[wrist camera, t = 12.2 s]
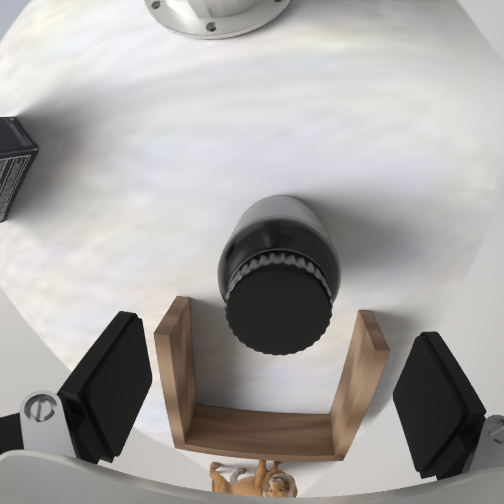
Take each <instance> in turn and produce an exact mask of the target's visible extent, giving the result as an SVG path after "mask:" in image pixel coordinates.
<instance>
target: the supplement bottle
mask: <svg viewBox="0 0 504 504" xmlns="http://www.w3.org/2000/svg"><path fill="white" fill-rule="evenodd" d="M340 283H341V267H340V262H339V258H338V255H337V252H336V250H335V248H334V246H333V244H332V242H331V240H330V238H329V236H328V235H327V233H326V231H325V229H324V227H323V225H322V223H321V222H320V220H319V218H318V217H317V215H316V214H315V212H314V211H313V210H312V209H311V208H310V207H309V206H308V205H306V204H305V203H303V202H302V201H300V200H298V199H295V198H292V197H288V196H272V197H267V198H264V199H262V200H260V201H258V202H256V203H255V204H253V205H252V206H251V207H250V208H249V209H247V211H246V212H245V213H244V214H243V216H242V217H241V219H240V220H239V222H238V224H237V226H236V228H235V229H234V231H233V233H232V235H231V237H230V238H229V240H228V242H227V244H226V246H225V248H224V250H223V252H222V255H221V257H220V261H219V265H218V285H219V289H220V293H221V295H222V298H223V300H224V302H225V303H226V305H225V311H226V319H227V320H228V322H229V327H230V328H231V329H232V330H233V334H234V335H235V336H237V337H238V339H239V341H240V342H242V343H244V344H245V345H246V346H247V347H249V348H252V349H254V350H255V351H257V352H262V353H264V354H272V355H287V354H295V353H296V352H298V351H303V350H305V349H306V348H307V347H310V346H312V345H313V344H314V342H316V341H318V340H319V339H320V337H321V335H323V334H324V333H325V331H326V328H327V327H328V326H329V325H330V318H331V317H332V311H331V310H332V307H333V303H334V301H335V299H336V297H337V294H338V291H339V288H340Z"/></svg>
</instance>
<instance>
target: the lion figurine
mask: <svg viewBox="0 0 504 504" xmlns="http://www.w3.org/2000/svg"><path fill="white" fill-rule="evenodd" d="M281 463H282V461H274V460H273V463H272V465H271V471H267V469H266V460H259V465H258V469H257V472H256V474H255V476H250V477H246V478H243V479H241V480H239V481H237V478H238V476H239V475H240V474H244V473H245V472H246V470H245V469H238V470H236V472H235V473H234V474H233V475H231V476H230V483H229V482H228V481H227V480H226V479H225V478H224V477H223V476H221V475H220V474H218V473H216V471H215V469H217V468H219V464H218V463H212V464H211V466H210V477H211V478H212V492H218V493H226V494H235V495H246V496H260V497H285V498H296V496H297V492H298V491H297V488H296V485H295V481H294V478H293V477H292V476H291V475H289V474H286V473H284V472H283V471H282V470H279V469H278V464H281Z"/></svg>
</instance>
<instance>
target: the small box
mask: <svg viewBox="0 0 504 504" xmlns="http://www.w3.org/2000/svg"><path fill="white" fill-rule="evenodd" d="M37 152H38V147H37V146H36V144H35V143H34V142H33V141H32V139H30V137H29V136H28V135H27V133H26V132H25V131H24V129H23V128H22V127H21V125H20V123H19V122H18V121H17V120H16V119H15V117H0V223H1V222H4V221H5V220H6V217H7V215H8V212H9V210H10V207H11V205H12V203H13V201H14V198H15V196H16V194H17V192H18V190H19V187H20V185H21V183H22V181H23V179H24V177H25V175H26V173H27V171H28V169H29V167H30V165H31V163H32V161H33V159H34V158H35V156H36V154H37Z"/></svg>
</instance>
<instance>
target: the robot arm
mask: <svg viewBox="0 0 504 504" xmlns="http://www.w3.org/2000/svg"><path fill="white" fill-rule="evenodd" d="M144 1H145V5H146V7H147V9H148V11H149V13H150V14H151V15H152V16H153V17H154V18H155V20H156V21H157V22H159V23H160V24H161V25H162V26H163V27H165V28H166V29H168V30H170V31H172V32H174V33H176V34H179V35H182V36H185V37H190V38H197V39H221V38H228V37H234V36H237V35H241V34H244V33H248V32H250V31H252V30H255V29H257V28H259V27H262V26H263V25H265V24H266V23H268V22H270V21H271V20H273V19H274V18H275V17H277V16H278V15H279V14H280V13H281V12H282V11H283V10H284V9H285V8H286V7H287V5H288V4H289V3H290V1H291V0H144ZM275 1H280V2H275ZM213 28H216V30H215V31H212V32H211V30H212V29H213ZM151 384H152V372H151V367H150V362H149V356H148V351H147V346H146V340H145V334H144V328H143V322H142V319H141V318H138V316H137V314H136V313H131V312H124V311H120V312H119V313H118V314H117V315H116V316H115V317H114V319H113V320H112V321H111V322H110V324H109V325H108V326H107V328H106V329H105V330H104V331H103V333H102V334H101V335H100V336H99V338H98V339H97V340H96V342H95V343H94V344H93V346H92V347H91V348H90V349H89V350H88V352H87V353H86V354H85V356H84V357H83V358H82V360H81V361H80V362H79V364H78V365H77V366H76V368H75V369H74V370H73V372H72V373H71V375H70V376H69V377H68V379H67V380H66V381H65V383H64V384H63V386H62V387H61V388H60V390H59V391H58V393H57V394H55V393H52V392H51V391H45V390H43V391H36V392H33V393H31V394H30V395H28V396H27V397H26V398H25V399H24V400H23V401H22V403H21V406H20V413H16V414H12V415H9V416H5V417H1V418H0V504H504V416H501V415H492V416H490V417H488V418H487V419H486V418H485V417H484V415H485V413H486V409H485V408H484V406H483V404H482V402H481V400H480V399H479V397H478V395H477V394H476V392H475V390H474V388H473V387H472V385H471V383H470V382H469V380H468V378H467V377H466V375H465V373H464V372H463V370H462V369H461V367H460V365H459V364H458V362H457V361H456V359H455V357H454V356H453V355H452V353H451V351H450V350H449V348H448V347H447V345H446V344H445V342H444V341H443V339H442V338H441V336H440V335H439V333H438V332H422V333H421V334H420V336H417V337H416V339H415V341H414V344H413V346H412V349H411V351H410V354H409V356H408V359H407V361H406V364H405V366H404V368H403V371H402V373H401V375H400V378H399V380H398V382H397V384H396V387H395V389H394V391H393V401H394V403H395V406H396V409H397V412H398V415H399V418H400V421H401V424H402V427H403V430H404V433H405V437H406V440H407V443H408V446H409V450H410V453H411V456H412V460H413V463H414V467H415V469H416V471H417V472H420V476H421V479H424V478H428V477H432V476H435V475H436V478H437V481H434V482H429V483H425V484H420V485H415V486H411V487H405V488H400V489H394V490H388V491H381V492H375V493H366V494H358V495H347V496H334V497H310V498H309V497H308V498H285V497H260V496H246V495H235V494H226V493H218V492H210V491H203V490H197V489H191V488H186V487H180V486H175V485H171V484H166V483H161V482H157V481H153V480H149V479H145V478H141V477H136V476H133V475H129V474H126V473H122V472H119V471H115V470H112V469H109V468H106V467H103V466H99V465H96V464H98V462H99V460H100V459H101V460H104V461H107V462H110V463H112V461H113V459H114V457H115V456H117V457H118V456H119V455H120V454H121V451H122V449H123V447H124V445H125V442H126V440H127V438H128V436H129V433H130V431H131V429H132V427H133V424H134V422H135V420H136V418H137V415H138V413H139V411H140V409H141V406H142V404H143V402H144V400H145V398H146V395H147V393H148V391H149V389H150V387H151Z"/></svg>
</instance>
